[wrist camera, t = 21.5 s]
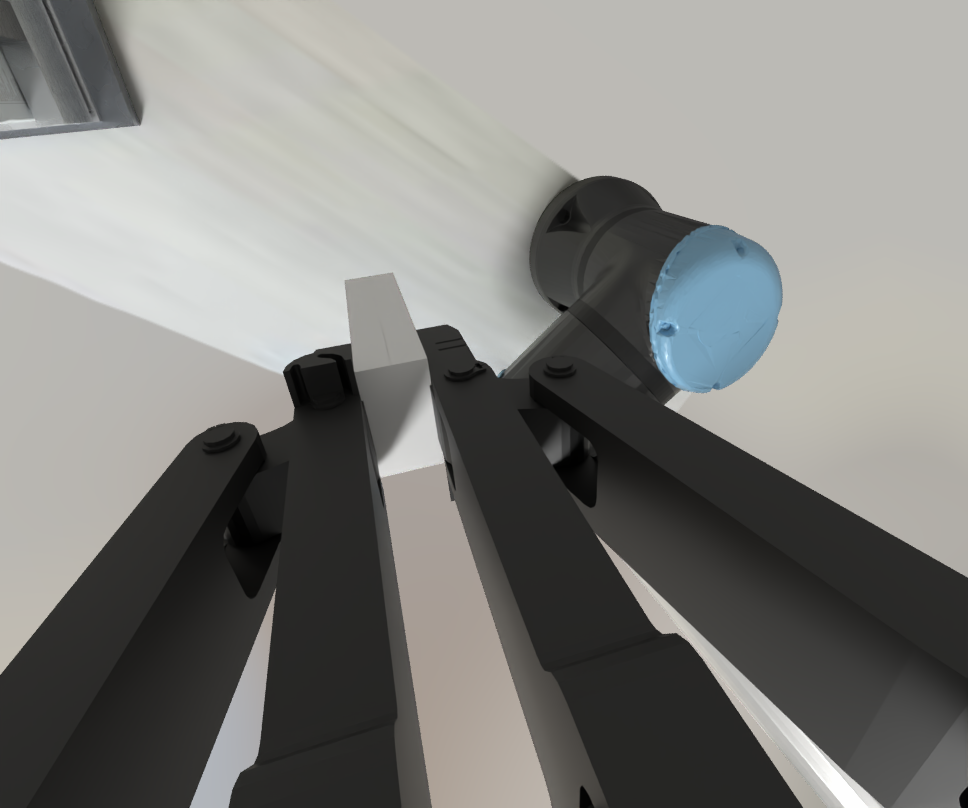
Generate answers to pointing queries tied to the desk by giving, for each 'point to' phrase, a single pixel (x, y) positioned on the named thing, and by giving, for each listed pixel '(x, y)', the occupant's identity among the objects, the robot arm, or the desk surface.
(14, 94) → the supplement box
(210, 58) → the desk surface
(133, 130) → the desk surface
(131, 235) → the desk surface
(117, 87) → the press bed
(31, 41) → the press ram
